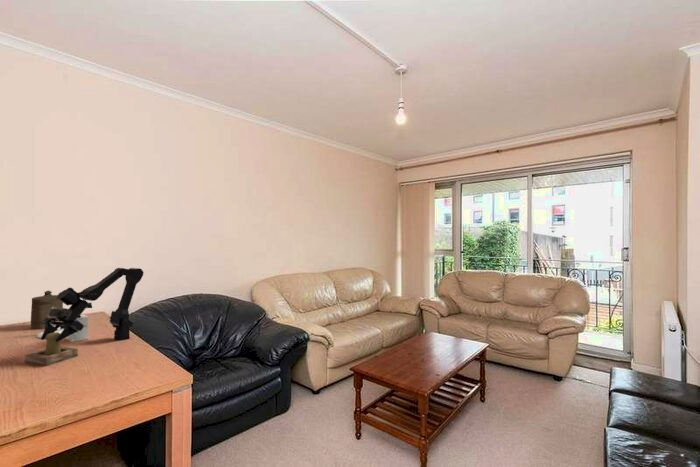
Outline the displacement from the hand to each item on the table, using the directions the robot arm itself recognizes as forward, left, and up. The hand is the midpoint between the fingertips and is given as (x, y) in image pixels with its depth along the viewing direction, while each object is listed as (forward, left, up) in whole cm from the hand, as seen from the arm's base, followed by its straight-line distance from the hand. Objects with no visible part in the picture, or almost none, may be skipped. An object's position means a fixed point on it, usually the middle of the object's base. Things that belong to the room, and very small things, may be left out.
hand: (49, 340), depth 152 cm
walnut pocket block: (-1, -1, -9) cm, 9 cm away
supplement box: (-8, -32, -9) cm, 34 cm away
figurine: (+2, -51, -10) cm, 52 cm away
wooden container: (+10, -76, -9) cm, 77 cm away
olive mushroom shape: (-1, -1, -8) cm, 8 cm away
